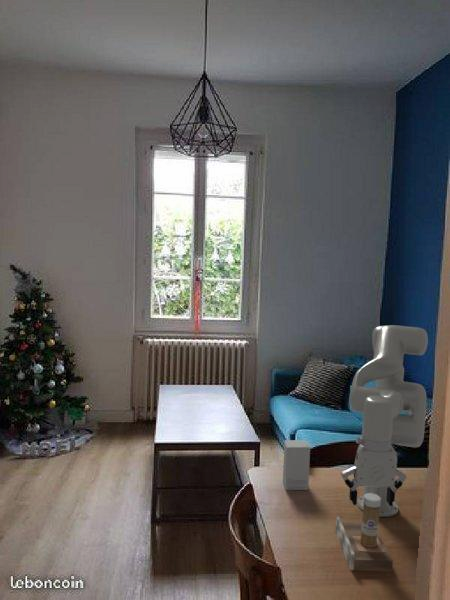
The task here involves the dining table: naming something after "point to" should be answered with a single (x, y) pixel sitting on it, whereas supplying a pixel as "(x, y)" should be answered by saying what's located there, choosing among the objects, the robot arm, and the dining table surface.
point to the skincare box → (296, 465)
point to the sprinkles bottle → (370, 520)
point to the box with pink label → (362, 549)
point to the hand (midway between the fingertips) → (371, 502)
